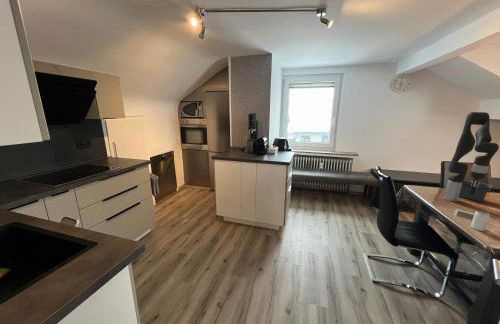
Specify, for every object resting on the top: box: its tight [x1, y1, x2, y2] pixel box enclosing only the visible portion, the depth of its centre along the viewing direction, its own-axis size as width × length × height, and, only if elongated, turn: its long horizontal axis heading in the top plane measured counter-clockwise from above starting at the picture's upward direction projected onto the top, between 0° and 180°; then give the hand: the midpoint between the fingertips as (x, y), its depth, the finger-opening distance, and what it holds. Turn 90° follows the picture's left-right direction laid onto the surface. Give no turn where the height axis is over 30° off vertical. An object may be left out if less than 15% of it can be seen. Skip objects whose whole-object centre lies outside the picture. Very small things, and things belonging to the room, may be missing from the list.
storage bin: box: [459, 179, 493, 203], centre depth 182 cm, size 21×16×14 cm
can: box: [470, 209, 490, 232], centre depth 134 cm, size 6×6×12 cm
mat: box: [452, 208, 475, 222], centre depth 152 cm, size 16×12×1 cm
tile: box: [455, 210, 474, 221], centre depth 150 cm, size 2×9×7 cm
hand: (472, 194), depth 146 cm, fingers closed
